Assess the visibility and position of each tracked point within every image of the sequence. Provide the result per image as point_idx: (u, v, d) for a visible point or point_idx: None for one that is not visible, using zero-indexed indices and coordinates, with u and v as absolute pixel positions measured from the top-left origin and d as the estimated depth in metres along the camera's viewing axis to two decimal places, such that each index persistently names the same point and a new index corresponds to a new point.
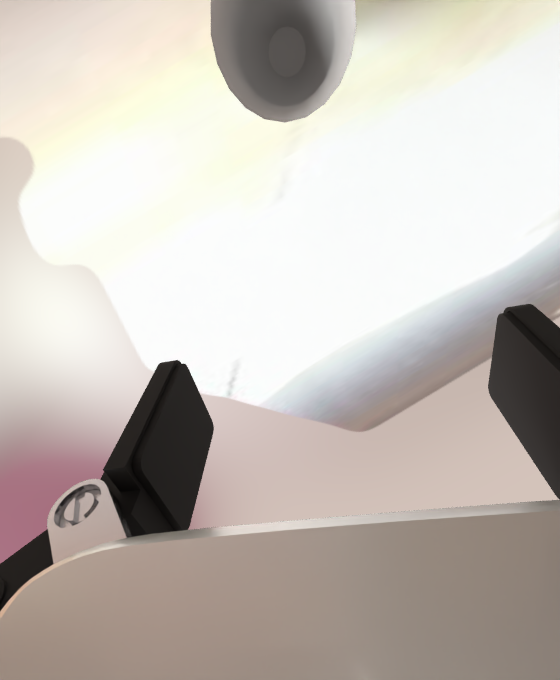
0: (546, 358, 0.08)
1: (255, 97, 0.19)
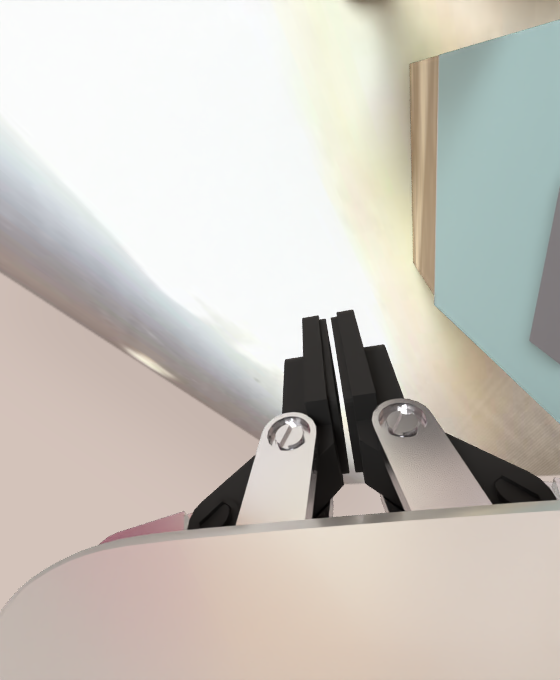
0: (338, 355, 0.09)
1: None
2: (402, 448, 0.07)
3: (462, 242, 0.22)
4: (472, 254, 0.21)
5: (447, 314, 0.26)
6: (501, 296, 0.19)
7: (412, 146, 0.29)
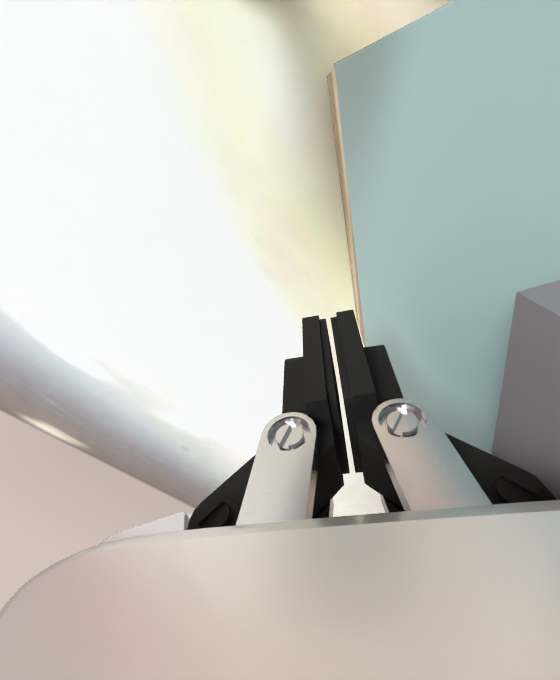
0: (338, 355, 0.09)
1: None
2: (402, 448, 0.07)
3: (388, 335, 0.15)
4: (401, 358, 0.14)
5: None
6: None
7: (340, 182, 0.22)
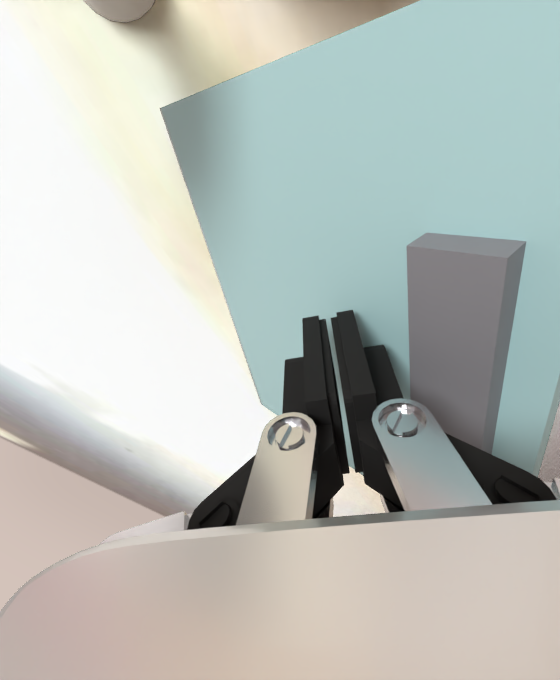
0: (338, 355, 0.09)
1: None
2: (402, 448, 0.07)
3: (273, 339, 0.16)
4: (292, 353, 0.16)
5: None
6: None
7: None
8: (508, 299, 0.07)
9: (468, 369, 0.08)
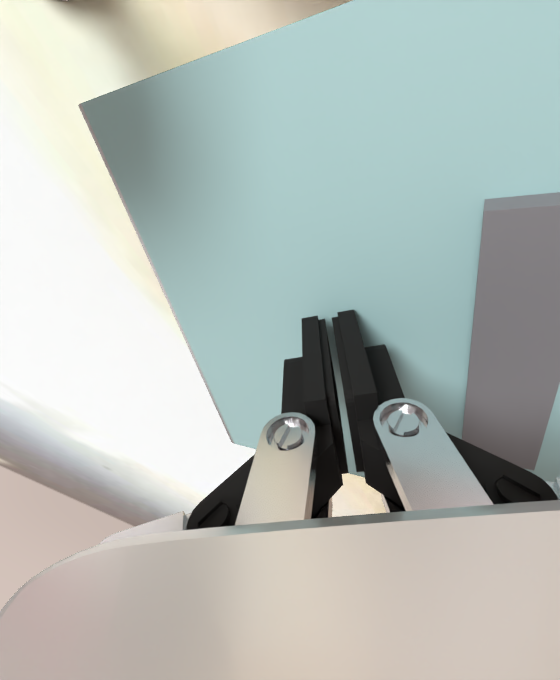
0: (339, 355, 0.09)
1: None
2: (403, 448, 0.07)
3: (258, 362, 0.14)
4: None
5: None
6: None
7: None
8: None
9: (547, 327, 0.08)
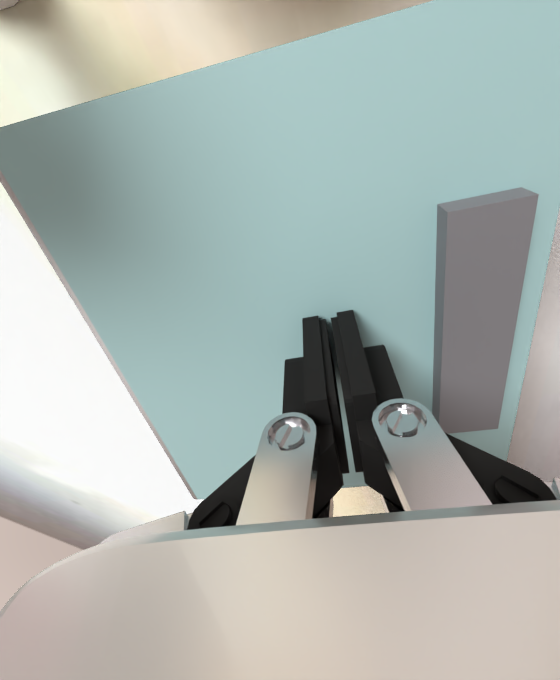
0: (338, 355, 0.09)
1: None
2: (402, 448, 0.07)
3: (225, 398, 0.14)
4: (257, 402, 0.14)
5: None
6: None
7: None
8: (524, 232, 0.09)
9: (501, 302, 0.10)
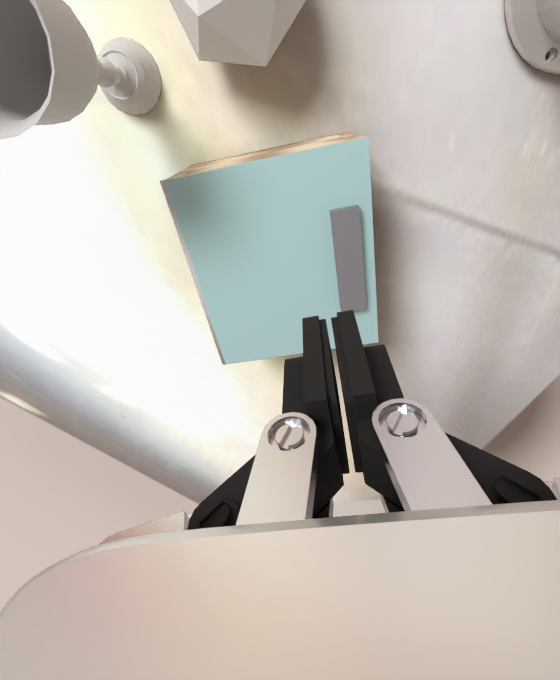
0: (338, 355, 0.09)
1: None
2: (402, 448, 0.07)
3: (245, 298, 0.29)
4: (260, 300, 0.29)
5: (246, 359, 0.33)
6: (298, 309, 0.30)
7: None
8: (359, 220, 0.25)
9: (355, 247, 0.26)
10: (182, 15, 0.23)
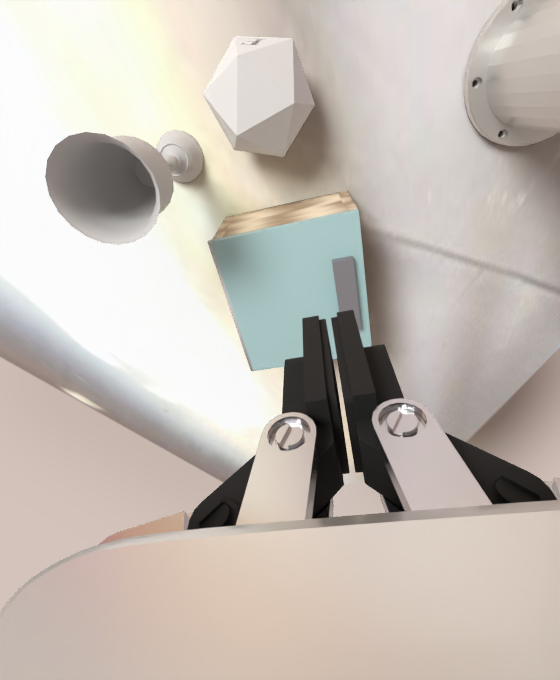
0: (338, 355, 0.09)
1: (66, 165, 0.23)
2: (402, 448, 0.07)
3: (269, 322, 0.38)
4: (280, 323, 0.38)
5: (269, 367, 0.42)
6: None
7: None
8: (354, 267, 0.34)
9: (351, 286, 0.35)
10: (223, 126, 0.32)
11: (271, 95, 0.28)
